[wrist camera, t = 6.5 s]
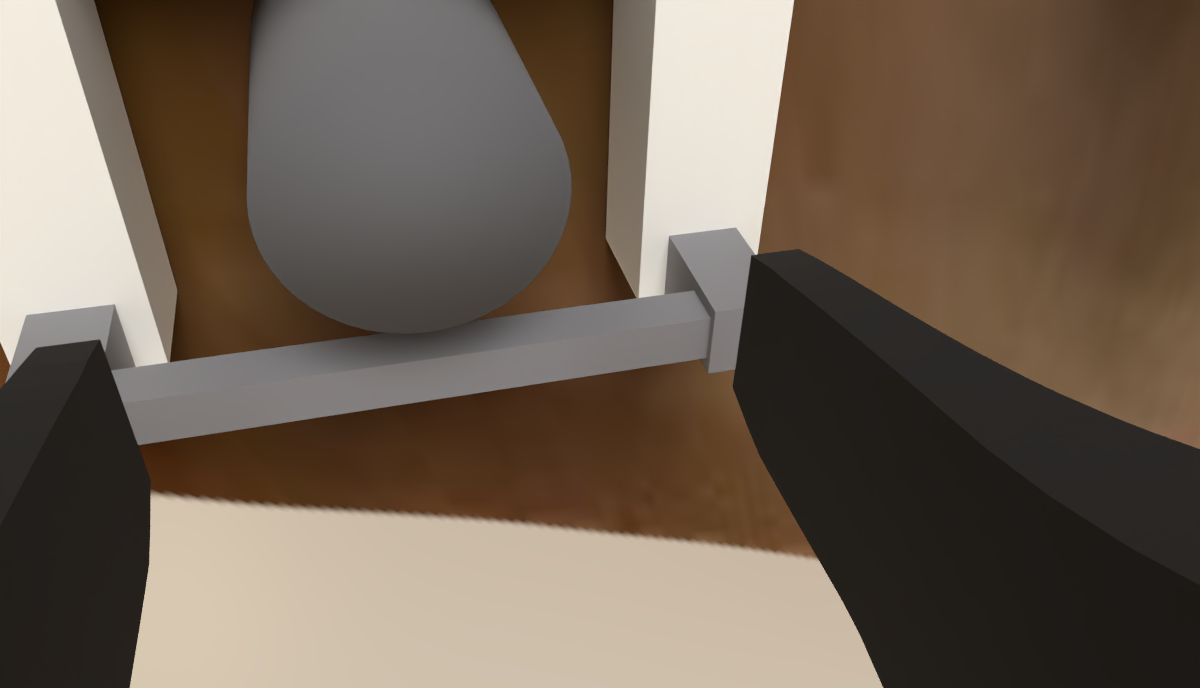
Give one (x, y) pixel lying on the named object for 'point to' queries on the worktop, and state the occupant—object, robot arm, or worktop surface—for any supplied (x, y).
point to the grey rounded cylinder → (399, 160)
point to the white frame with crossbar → (388, 360)
